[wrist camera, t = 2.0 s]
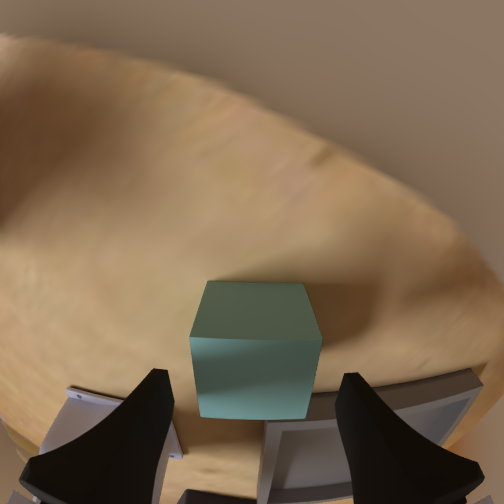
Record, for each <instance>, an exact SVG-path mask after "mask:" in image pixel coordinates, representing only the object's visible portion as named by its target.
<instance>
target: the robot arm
mask: <svg viewBox="0 0 504 504" xmlns="http://www.w3.org/2000/svg"><path fill="white" fill-rule="evenodd" d="M65 391H66V394H67V395H68V399H67V400H66V402H65V403H64V405H63V407H62V408H61V410H60V412H59V414H58V415H57V417H56V419H55V420H54V422H53V424H52V426H51V427H50V429H49V431H48V433H47V435H46V436H45V438H44V440H43V442H42V444H41V448H40V452H39V455H38V456H35V457H32V458H30V459H29V460H28V462H27V464H26V466H25V468H24V470H23V472H22V474H21V476H20V478H19V482H20V484H21V485H22V486H23V487H25V488H26V489H27V490H28V491H29V492H31V493H32V494H33V495H34V498H33V500H30V499H28V498H27V497H25V496H23V495H22V494H20V493H19V492H17V491H16V490H12V493H11V495H10V497H9V499H8V501H7V504H159V500H160V495H161V490H162V486H163V481H164V477H165V472H166V468H167V463H168V459H169V458H172V459H183V453H182V450H181V447H180V444H179V441H178V438H177V434H176V431H175V428H174V424H173V421H172V415H173V409H174V403H175V401H174V397H173V392H172V388H171V384H170V379H169V374H168V370H163V369H155V368H154V369H152V370H151V371H150V372H149V374H148V375H147V376H146V377H145V378H144V379H143V380H142V382H141V383H140V384H139V385H138V386H137V387H136V388H135V389H134V390H133V391H132V393H131V394H130V395H129V396H128V397H127V398H126V399H125V400H119V399H115V398H110V397H106V396H101V395H97V394H93V393H89V392H85V391H82V390H78V389H74V388H71V387H67V388H66V390H65ZM334 405H335V413H336V419H337V425H338V429H339V433H340V436H341V440H342V443H343V447H344V451H345V454H346V458H347V461H348V465H349V469H350V474H351V482H352V490H353V500H354V504H466V503H467V500H466V498H465V496H466V495H468V494H469V493H470V492H471V491H473V490H474V489H475V488H476V487H478V486H479V485H480V484H481V483H482V482H483V480H484V478H485V476H484V474H483V472H482V470H481V468H480V466H479V464H478V462H475V461H472V460H470V459H467V458H464V457H461V456H459V455H456V454H454V453H452V452H450V451H448V450H446V449H444V448H442V447H440V446H438V445H437V444H435V443H433V442H432V441H430V440H429V439H427V438H425V437H424V436H423V435H421V434H420V433H418V432H417V431H416V430H414V429H413V428H412V427H411V426H409V425H408V424H407V423H406V422H405V421H403V420H402V419H401V418H400V417H399V416H398V415H397V414H396V413H395V412H394V411H393V410H392V409H391V408H390V407H389V406H388V405H387V404H386V403H385V402H384V401H383V400H382V399H381V398H380V397H379V396H378V394H377V393H376V392H375V391H374V390H373V389H372V388H371V387H370V385H369V384H368V383H367V382H366V381H365V380H364V379H363V377H362V376H361V375H360V374H359V373H358V372H356V373H344V376H343V380H342V383H341V386H340V389H339V392H338V395H337V398H336V401H335V404H334ZM475 504H494V502H493V500H492V498H491V496H490V495H488V496H486V497H485V498H483V499H481V500H480V501H478V502H476V503H475Z"/></svg>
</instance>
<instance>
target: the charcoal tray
mask: <svg viewBox="0 0 504 504" xmlns="http://www.w3.org/2000/svg"><path fill="white" fill-rule="evenodd" d="M483 386H484V385H483V384H482V382H481V381H480V380H479V378H478V377H477V376H476V374H475V373H474V372H473V371H472V369H471V368H469V369H465V370H461V371H458V372H454V373H450V374H446V375H441V376H437V377H433V378H428V379H423V380H418V381H413V382H407V383H402V384H396V385H390V386H383V387H376V388H372V389H373V390H374V391H375V392H376V393H377V394H378V396H379V397H380V398H381V399H382V400H383V401H384V402H385V403H386V404H387V405H388V406H389V407H390V408H391V409H392V410H393V411H394V412H395V413H396V414H397V415H398V416H399V417H400V418H401V419H402V420H403V421H405V422H406V423H407V424H408V425H409V426H411V427H412V428H413V429H414V430H416V431H417V432H418V433H420V434H421V435H423V436H424V437H425V438H427V439H429V440H430V441H432V442H433V443H435V444H437V445H438V446H440V447H441V446H442V444H443V443H444V442H445V441H446V439H447V438H448V437H449V436H450V434H451V433H452V432H453V430H454V429H455V428H456V426H457V425H458V424H459V422H460V421H461V420H462V418H463V417H464V415H465V414H466V412H467V411H468V410H469V408H470V407H471V405H472V404H473V402H474V400H475V399H476V397H477V396H478V394H479V393H480V391H481V389H482V388H483ZM337 395H338V392H328V393H313V394H311V397H310V401H309V405H308V409H307V413H306V417H305V418H304V419H280V420H264V427H263V437H262V446H261V456H260V465H259V474H258V483H257V504H313V503H322V502H329V501H336V500H342V499H348V498H353V490H352V482H351V474H350V469H349V465H348V461H347V458H346V454H345V451H344V447H343V443H342V440H341V436H340V433H339V429H338V425H337V419H336V413H335V405H334V404H335V401H336V398H337Z"/></svg>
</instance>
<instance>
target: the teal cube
mask: <svg viewBox="0 0 504 504" xmlns="http://www.w3.org/2000/svg"><path fill="white" fill-rule="evenodd" d="M189 339H190V347H191V355H192V363H193V370H194V378H195V384H196V391H197V398H198V404H199V410H200V416H201V417H207V418H222V419H247V420H280V419H304V418H305V417H306V413H307V409H308V405H309V401H310V397H311V392H312V388H313V384H314V379H315V375H316V370H317V365H318V361H319V356H320V351H321V346H322V341H323V339H322V336H321V333H320V330H319V327H318V324H317V321H316V318H315V315H314V312H313V309H312V306H311V303H310V301H309V298H308V295H307V292H306V289H305V286H304V284H303V283H256V282H220V281H207V284H206V287H205V290H204V293H203V296H202V299H201V302H200V305H199V308H198V311H197V314H196V318H195V321H194V324H193V327H192V330H191V333H190V336H189Z"/></svg>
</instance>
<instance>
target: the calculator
mask: <svg viewBox="0 0 504 504" xmlns="http://www.w3.org/2000/svg"><path fill="white" fill-rule="evenodd" d="M177 504H257V500H249V499H241V498H234V497H227V496H221V495H215V494H210V493H205V492H200V491H195V490H190V489H186V490H185V492H184V493H183V495H182V496H181V498H180V500H179V501H178V503H177Z"/></svg>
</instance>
